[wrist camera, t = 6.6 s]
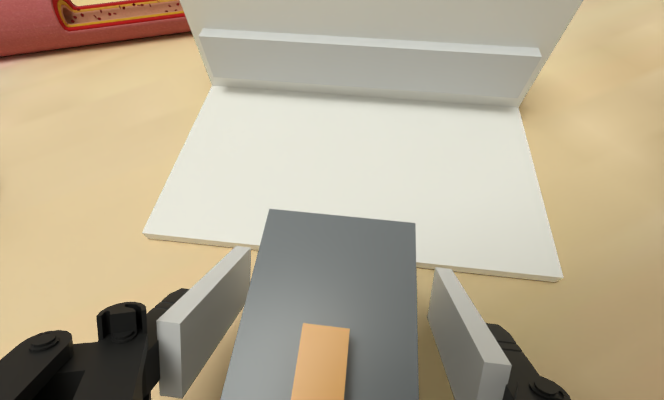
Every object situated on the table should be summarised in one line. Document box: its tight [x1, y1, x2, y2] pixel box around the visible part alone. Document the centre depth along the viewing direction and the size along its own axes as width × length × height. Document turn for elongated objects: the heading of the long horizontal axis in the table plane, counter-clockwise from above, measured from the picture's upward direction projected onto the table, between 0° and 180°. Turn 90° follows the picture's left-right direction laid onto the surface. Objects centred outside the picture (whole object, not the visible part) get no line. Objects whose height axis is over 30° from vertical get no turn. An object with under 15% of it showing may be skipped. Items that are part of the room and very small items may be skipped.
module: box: [220, 209, 419, 400], centre depth 13 cm, size 5×7×11 cm
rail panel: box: [142, 0, 583, 282], centre depth 19 cm, size 26×16×14 cm, turn 83°
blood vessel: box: [0, 0, 191, 57], centre depth 33 cm, size 42×5×5 cm, turn 103°
